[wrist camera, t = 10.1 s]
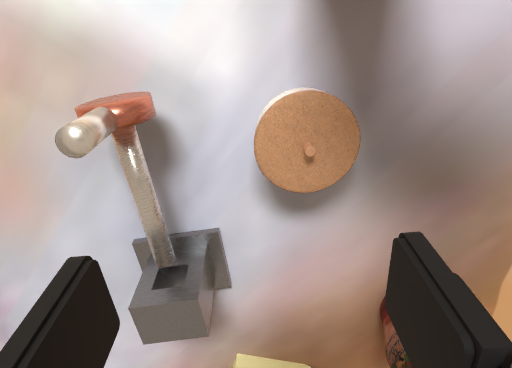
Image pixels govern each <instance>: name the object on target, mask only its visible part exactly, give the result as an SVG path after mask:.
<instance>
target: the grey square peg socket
mask: <svg viewBox="0 0 512 368" xmlns="http://www.w3.org/2000/svg"><path fill="white" fill-rule="evenodd" d="M169 238H170V241H171V244H172V248H173V251H174V254H175V258H176V259H175V261H174V262H173V263H172V264H171V265H169V266H167V267H158V266H157V265H156V263H155V260H154V257H153V254H152V252H151V249H150V246H149V243H148V240H147V238H141V239H134V241H133V243H132V245H133V247H134V250H135V253H136V256H137V258H138V261H139V264H140V266H141V269H142V272H143V273H142V276H141V278H140V281H139V283H138V286H137V288H136V291H135V293H134V296H133V298H132V301H131V303H130V306H129V308H128V309H129V311H130V313H131V316H132V318H133V321H134V323H135V325H136V328H137V330H138V333H139V335H140V337H141V340H142V342H143V344H152V343H160V342H168V341H175V340H183V339H191V338H199V337H207V336H209V330H210V321H211V312H212V303H213V294H214V289H222V288H230V287H231V280H230V275H229V271H228V266H227V262H226V257H225V253H224V249H223V244H222V240H221V235H220V231H219V228H214V229H207V230H199V231H192V232H185V233H177V234H170V235H169Z"/></svg>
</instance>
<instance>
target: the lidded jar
mask: <svg viewBox="0 0 512 368" xmlns="http://www.w3.org/2000/svg"><path fill="white" fill-rule="evenodd" d="M359 146H360V130H359V126H358V122H357V120H356V118H355V116H354V114H353V113H352V111H351V110H350V109H349V108H348V107H347V106H346V105H345V104H344V103H343V102H342V101H341V100H339V99H338V98H336V97H335V96H333V95H330V94H329V93H326V92H324V91H322V90H318V89H314V88H306V87H304V88H295V89H291V90H288V91H286V92H283V93H281V94H280V95H278V96H276V97H275V98H274V99H273V100H271V101H270V102H269V103H268V105H267V106H266V107H265V108H264V110H263V111H262V113H261V115H260V117H259V119H258V122H257V126H256V130H255V137H254V153H255V157H256V161H257V163H258V166H259V168H260V170H261V171H262V173H263V174H264V175H265V176H266V177H267V179H268V180H270V181H271V182H272V183H273V184H275V185H276V186H278V187H280V188H282V189H285V190H288V191H292V192H298V193H308V192H314V191H319V190H322V189H324V188H327V187H329V186H331V185H333V184H334V183H336V182H337V181H338V180H340V179H341V178H342V177H343V176H344V175H345V174H346V173H347V172H348V171H349V169H350V168H351V166H352V165H353V163H354V161H355V159H356V157H357V154H358V151H359Z"/></svg>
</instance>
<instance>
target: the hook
mask: <svg viewBox="0 0 512 368" xmlns="http://www.w3.org/2000/svg"><path fill="white" fill-rule="evenodd" d="M75 111H76V114H77V116H78V119H76V120H74V121H73V122H71V123H69V124H68V125H66V126H64V127H62V128H61V129H59V130H58V131H57V133H56V136H55V142H56V145H57V147H58V149H59V150H60V151H61V152H62V153H63V154H65V155H66V156H68V157H71V158H81V157H83V156H85V155H86V154H87V153H89V152H90V151H91V150H92V149H93V148H94V147H96V146H97V145H98V144H99V143H100V142H101V141H103V140H104V139H105V138H106V137H107V136H108V135H110V134H111V135H112V138H113V141H114V144H115V147H116V149H117V152H118V155H119V158H120V161H121V164H122V167H123V170H124V173H125V176H126V179H127V182H128V184H129V187H130V190H131V193H132V196H133V199H134V202H135V205H136V208H137V211H138V214H139V217H140V219H141V222H142V225H143V228H144V231H145V234H146V237H147V240H148V243H149V246H150V249H151V252H152V254H153V257H154V260H155V263H156V265H157V266H158V267H167V266H169V265H171V264H172V263H173V262H174V261H175V259H176V258H175V254H174V251H173V248H172V244H171V241H170V238H169V235H168V231H167V228H166V225H165V222H164V218H163V215H162V212H161V209H160V205H159V202H158V199H157V196H156V192H155V189H154V186H153V183H152V179H151V176H150V173H149V170H148V166H147V163H146V160H145V156H144V153H143V150H142V147H141V143H140V140H139V137H138V134H137V130H136V127H135V125H136V124H139V123H142V122H145V121H147V120H149V119H151V118H153V117H154V116H155V115H156V112H155V108H154V104H153V101H152V97H151V93H149V92H132V93H125V94H119V95H114V96H109V97H104V98H100V99H97V100H93V101H90V102H87V103H84V104H81V105H79V106H77V107H76V108H75Z"/></svg>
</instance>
